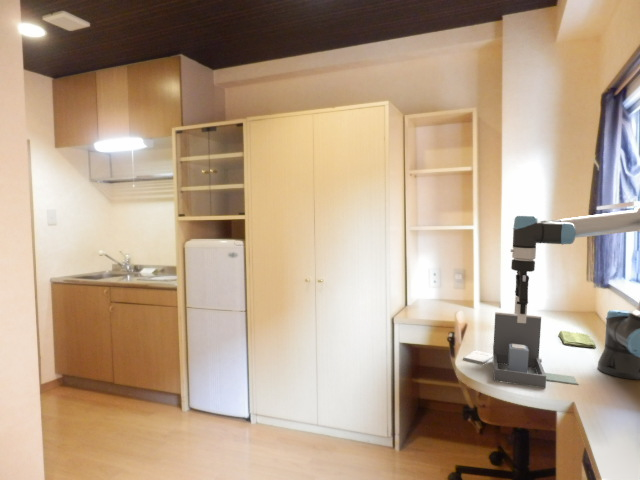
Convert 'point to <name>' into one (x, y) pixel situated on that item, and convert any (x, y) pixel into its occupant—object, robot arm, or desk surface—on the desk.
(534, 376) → the case
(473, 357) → the external hard drive
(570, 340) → the washcloth
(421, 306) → the desk surface
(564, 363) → the desk surface
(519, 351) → the block
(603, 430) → the desk surface
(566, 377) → the mat
